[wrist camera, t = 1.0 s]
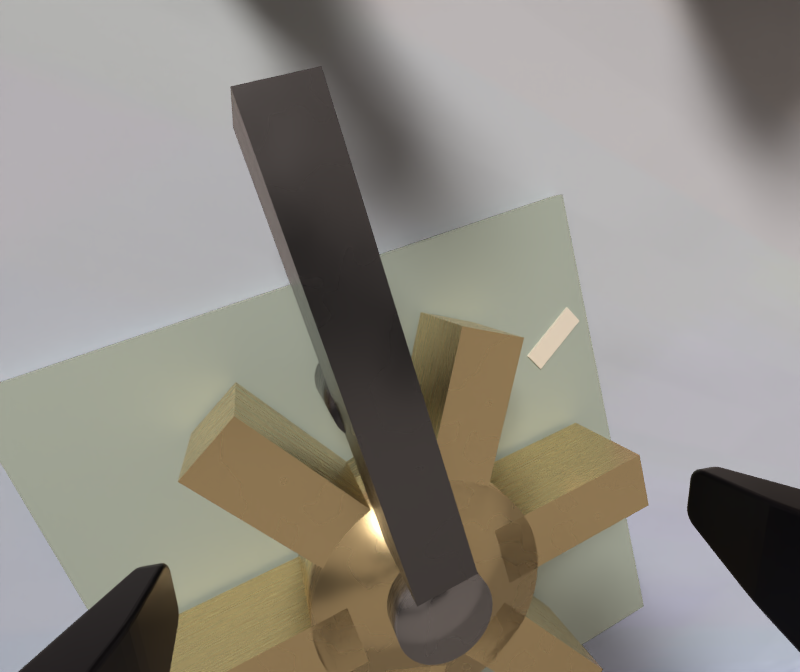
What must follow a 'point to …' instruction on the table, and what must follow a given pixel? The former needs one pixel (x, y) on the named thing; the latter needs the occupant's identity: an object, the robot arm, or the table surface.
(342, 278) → the multicoloured angular piece
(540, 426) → the base plate
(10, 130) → the table surface
